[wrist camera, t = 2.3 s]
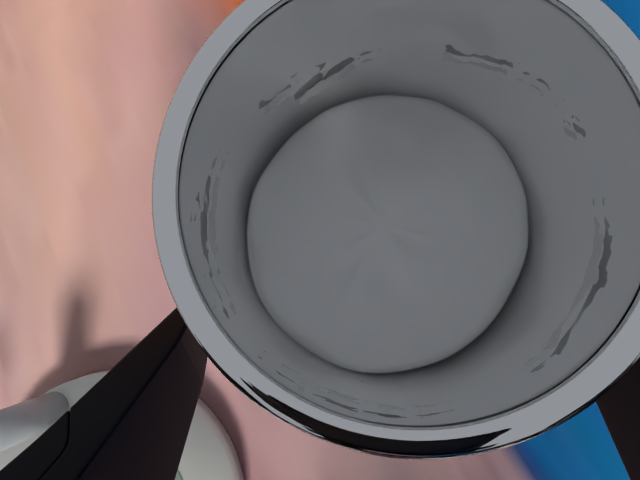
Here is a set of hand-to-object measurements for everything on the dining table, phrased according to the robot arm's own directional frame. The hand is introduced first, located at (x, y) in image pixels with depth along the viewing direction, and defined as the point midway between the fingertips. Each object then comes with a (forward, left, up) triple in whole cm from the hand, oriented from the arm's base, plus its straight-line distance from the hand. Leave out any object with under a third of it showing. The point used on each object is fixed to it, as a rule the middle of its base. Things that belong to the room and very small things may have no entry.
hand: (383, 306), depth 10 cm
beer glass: (+2, -1, -10) cm, 10 cm away
